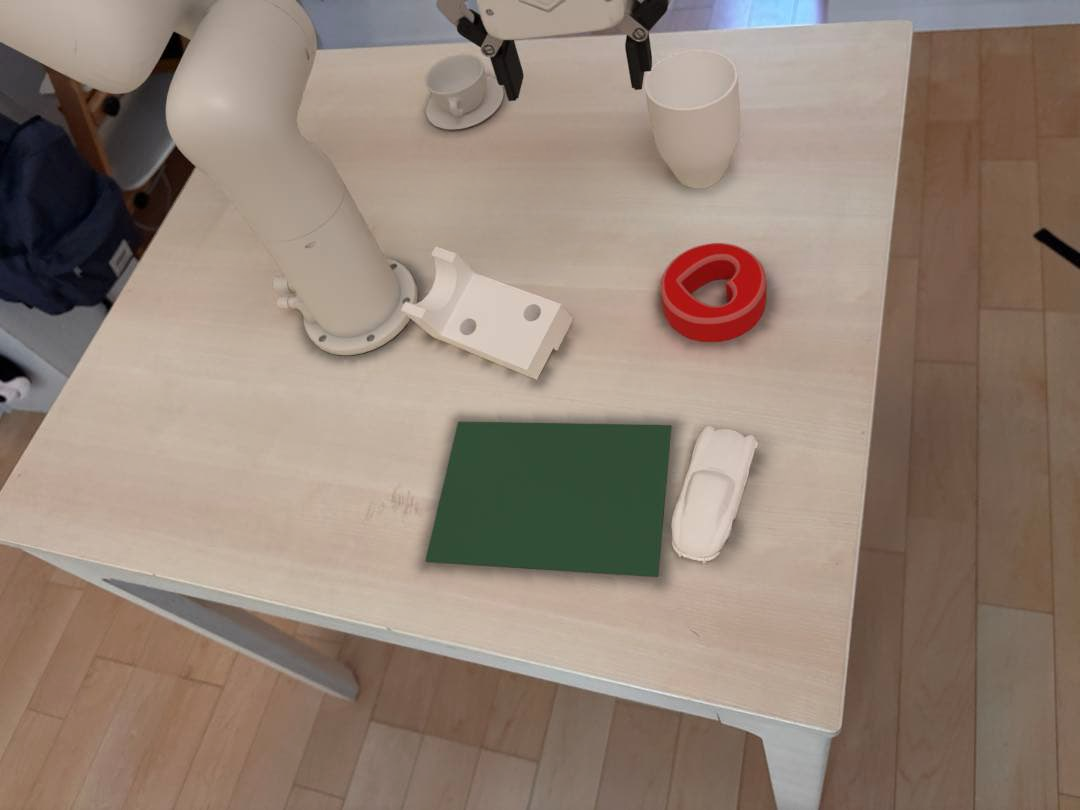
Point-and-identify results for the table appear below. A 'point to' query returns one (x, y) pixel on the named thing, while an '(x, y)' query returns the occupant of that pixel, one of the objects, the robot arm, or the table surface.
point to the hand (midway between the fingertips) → (576, 83)
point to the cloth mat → (554, 497)
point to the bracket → (489, 317)
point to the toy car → (711, 493)
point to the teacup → (461, 92)
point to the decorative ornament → (702, 268)
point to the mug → (695, 114)
